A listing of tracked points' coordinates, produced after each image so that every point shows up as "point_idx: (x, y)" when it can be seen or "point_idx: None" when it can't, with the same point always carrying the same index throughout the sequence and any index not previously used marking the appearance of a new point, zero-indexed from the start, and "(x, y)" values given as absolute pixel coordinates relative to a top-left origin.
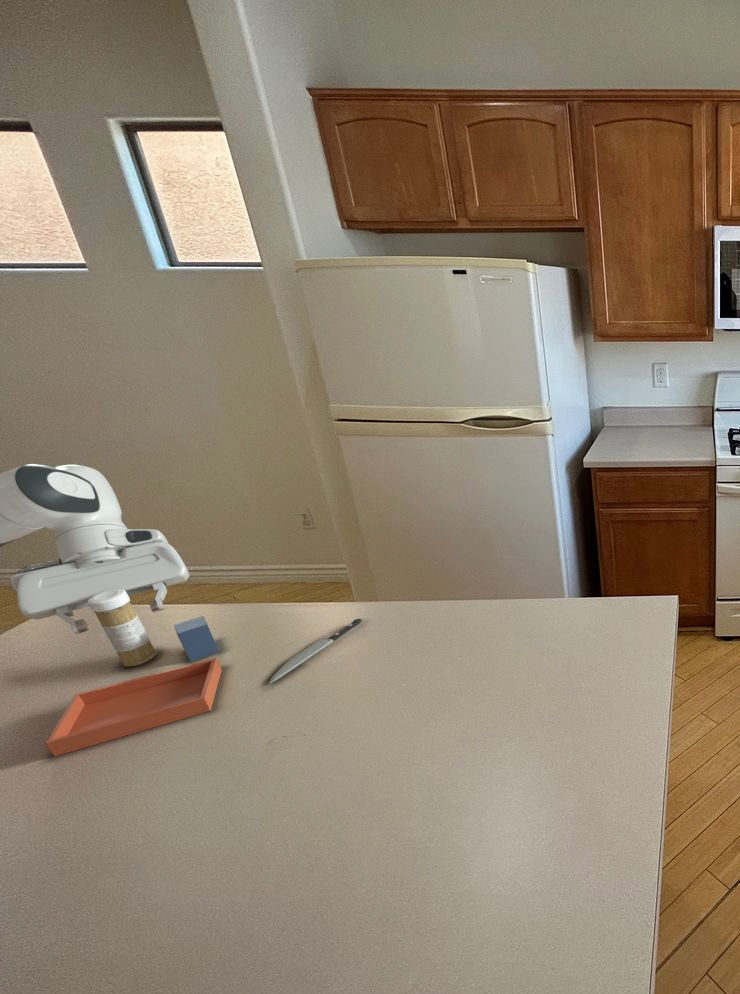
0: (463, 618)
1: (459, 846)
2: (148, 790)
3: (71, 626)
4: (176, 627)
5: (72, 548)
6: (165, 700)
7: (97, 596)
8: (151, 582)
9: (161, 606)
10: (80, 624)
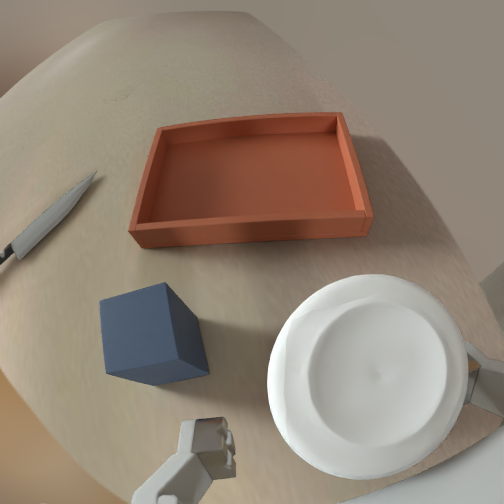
0: None
1: (92, 47)
2: (220, 73)
3: (478, 350)
4: (169, 331)
5: None
6: (220, 179)
7: (433, 380)
8: None
9: (185, 421)
10: None
